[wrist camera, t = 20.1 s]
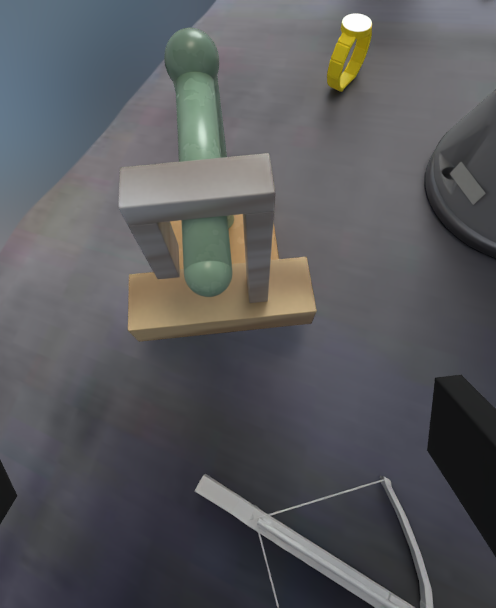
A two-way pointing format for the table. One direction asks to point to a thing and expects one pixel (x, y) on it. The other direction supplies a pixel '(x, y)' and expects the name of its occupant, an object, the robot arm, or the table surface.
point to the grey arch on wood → (245, 276)
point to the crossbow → (313, 555)
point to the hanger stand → (197, 146)
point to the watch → (351, 30)
